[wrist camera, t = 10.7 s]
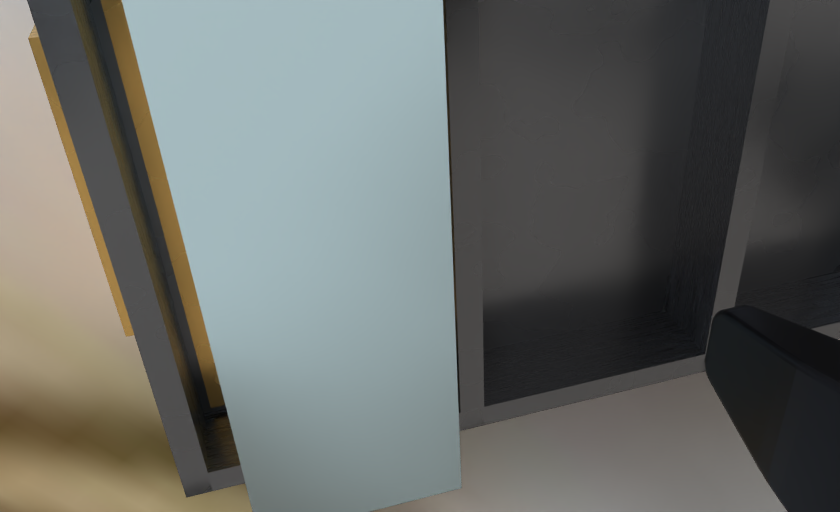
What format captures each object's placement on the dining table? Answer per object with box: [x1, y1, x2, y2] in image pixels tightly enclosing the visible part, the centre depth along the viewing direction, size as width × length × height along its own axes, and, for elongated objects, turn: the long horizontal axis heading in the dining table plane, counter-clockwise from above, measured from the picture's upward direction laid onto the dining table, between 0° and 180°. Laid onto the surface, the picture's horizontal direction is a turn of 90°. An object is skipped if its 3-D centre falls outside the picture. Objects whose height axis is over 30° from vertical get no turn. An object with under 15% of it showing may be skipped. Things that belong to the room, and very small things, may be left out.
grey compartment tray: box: [27, 0, 840, 497], centre depth 17 cm, size 21×15×3 cm
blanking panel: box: [122, 0, 462, 512], centre depth 14 cm, size 12×4×5 cm, turn 3°
